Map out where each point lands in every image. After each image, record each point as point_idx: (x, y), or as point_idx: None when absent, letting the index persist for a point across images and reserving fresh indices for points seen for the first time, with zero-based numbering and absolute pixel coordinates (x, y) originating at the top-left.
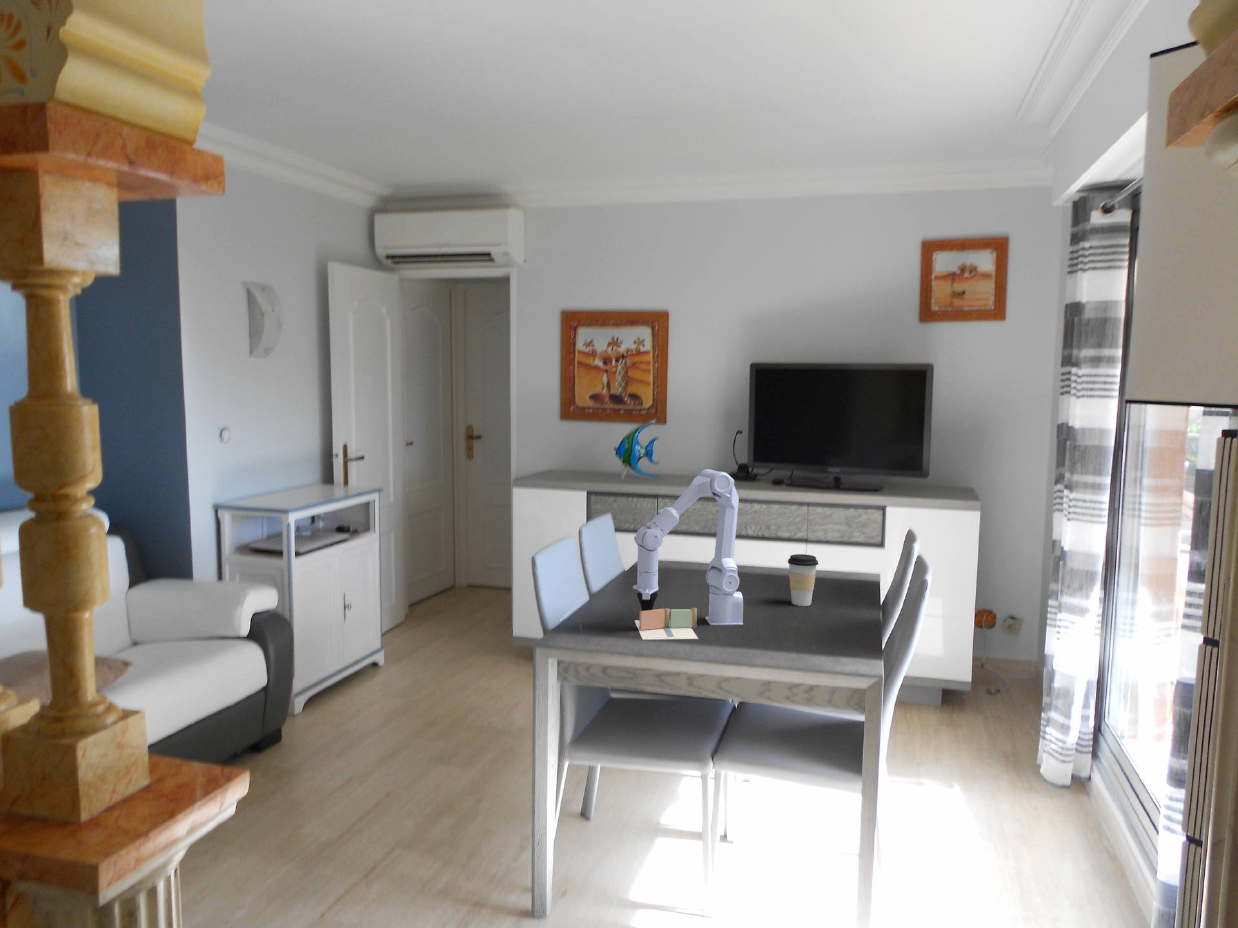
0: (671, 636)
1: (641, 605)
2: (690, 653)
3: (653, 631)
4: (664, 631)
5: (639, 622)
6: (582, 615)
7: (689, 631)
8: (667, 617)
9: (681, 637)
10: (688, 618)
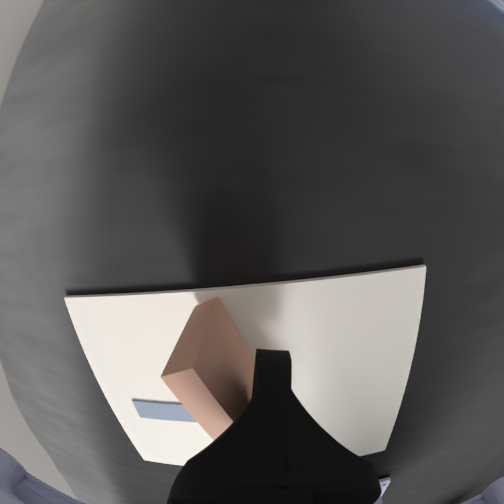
0: (137, 409)
1: (243, 412)
2: (27, 400)
3: None
4: None
5: (211, 316)
6: (480, 21)
7: None
8: None
9: (138, 430)
10: None
